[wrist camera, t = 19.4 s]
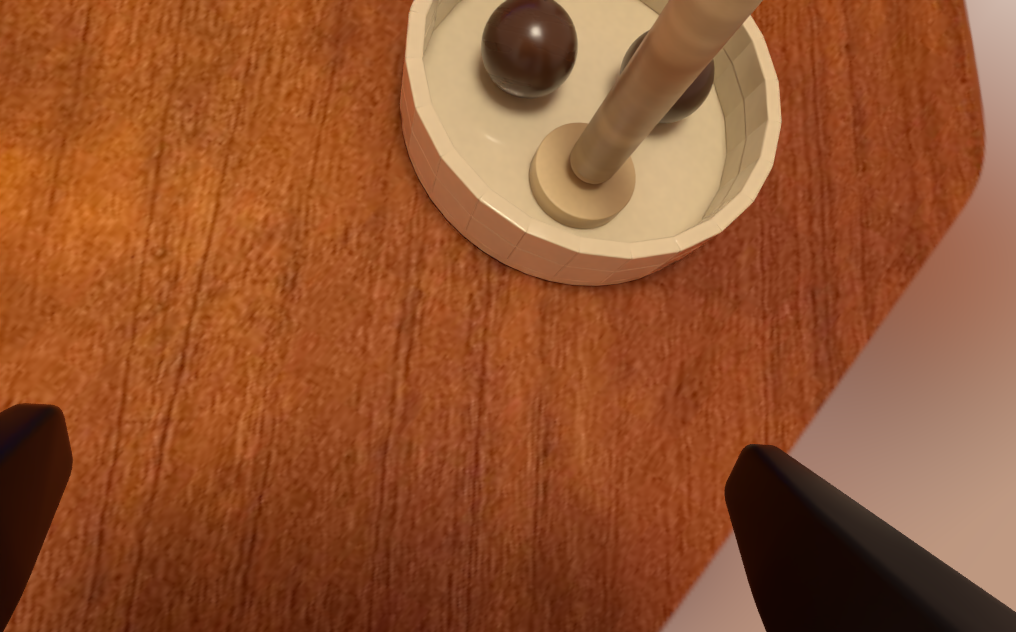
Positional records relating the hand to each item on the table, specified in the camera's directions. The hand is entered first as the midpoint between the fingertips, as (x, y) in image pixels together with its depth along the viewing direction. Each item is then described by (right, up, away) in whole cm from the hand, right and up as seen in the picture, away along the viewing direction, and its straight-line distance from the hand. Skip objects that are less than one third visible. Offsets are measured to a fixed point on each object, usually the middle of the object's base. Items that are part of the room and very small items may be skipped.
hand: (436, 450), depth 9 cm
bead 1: (+2, +12, +15) cm, 19 cm away
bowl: (+4, +10, +18) cm, 21 cm away
